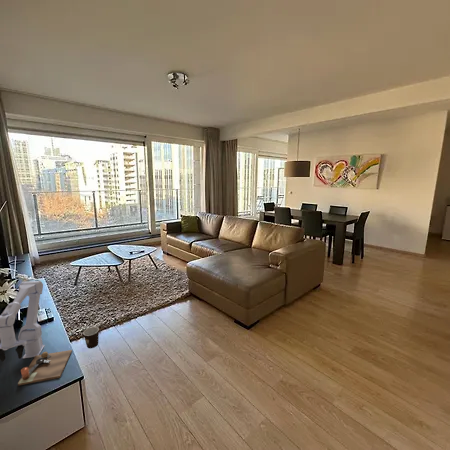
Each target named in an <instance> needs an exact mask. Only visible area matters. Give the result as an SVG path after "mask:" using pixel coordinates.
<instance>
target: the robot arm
mask: <svg viewBox="0 0 450 450" xmlns="http://www.w3.org/2000/svg"><path fill="white" fill-rule="evenodd" d="M43 289H44V283H43V282H42V280H31V281H24V280H23V281H22V282H21V283H20V284H19V285H18V292H17V294H16V295H15V297H14V299H13V301H12V302H10V303H8V304H7V306H6V307H5V309H4V310H3V311H2V313H1V314H0V361H1V362H4V361H5V360H6V353H5V351H7V350H9V349H11V348H15V352H16V353H17V357H18V359H30V358H34V357H35V356H37V355H41V354H42V353H41V352H43V349H44V348H45V346H46V345H45V344H43V343H44V342H43V339H42V334H43V332H42V326H41V325H40V324H39V323H37V322H38V316H39V315H38V313H39V307H40V299H41V298H40V297H41V295H42V294H43ZM27 296H28V304H27V305H28V306H27V312H26V319H25V324H24V325H23V326H22V327H21V328H20V331H19V333H18V335H17V336H18V337H17V338H18V340H17V339H16V334H15V329H14V324H15V322H16V321H15V320H16V317H17V314H18V313H19V311H20V309H21V308H22V306H21V304H22V302H23V301H25V299H26V298H27ZM23 353H25V354H24V355H23Z"/></svg>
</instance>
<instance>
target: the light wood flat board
mask: <svg viewBox="0 0 450 450" xmlns="http://www.w3.org/2000/svg"><path fill="white" fill-rule="evenodd" d="M71 354H73V349H69V350H68V349H67V350H62V351H57V352H50V353H48V351H44V352H43V351H42V353H40V354H39V355H37V356H35V357H33V359H32V361H31V362H30V364H29V365H28V366H27V367H28V369H29V370H30V369H31V368H32V367H33V366H34V365H35V364H36V361H37V360H38V359H40V358H45V360H50V363H49V364H41V365H39V366H38V367H37V368H36V369H35V370H34V371H33V372H32V373H31V374H30V377H29V378H28V379H26V380H23V379H22V377H20V379H19V380H18V382H17V386H23V385H28V384H33V383H38V382H45V381H49V380H57V379H59V378H61V377H62V374H63V373H64V371H65V369H66V366H67V364H68V362H69V360H70V357H71Z"/></svg>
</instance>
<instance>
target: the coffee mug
mask: <svg viewBox="0 0 450 450" xmlns="http://www.w3.org/2000/svg"><path fill="white" fill-rule="evenodd" d="M99 332H100V328H99V327H98V326H91V327H88V328H86V329H85V330H82V331H81V333H82V336H83V338H84V341H85V345H86V347H87V348H88V349H94V348H96V347H98V345H99V336H100V335H99Z"/></svg>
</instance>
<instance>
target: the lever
mask: <svg viewBox="0 0 450 450" xmlns="http://www.w3.org/2000/svg"><path fill="white" fill-rule="evenodd" d="M49 363H50V360H45V358H40V359H38V360H37V361H36V364H35V365H34V366H33V367H32V368H31V369H30V370H29V369H28V367H29V366H24V367H22V368H21V369H20V373H21V378H22V379H23V380H26V379H28V378H29V377H30V374H31V373H32V372H33V371H34V370H35V369H36V368H37V367H38V366H39V365H41V364H49Z"/></svg>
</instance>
